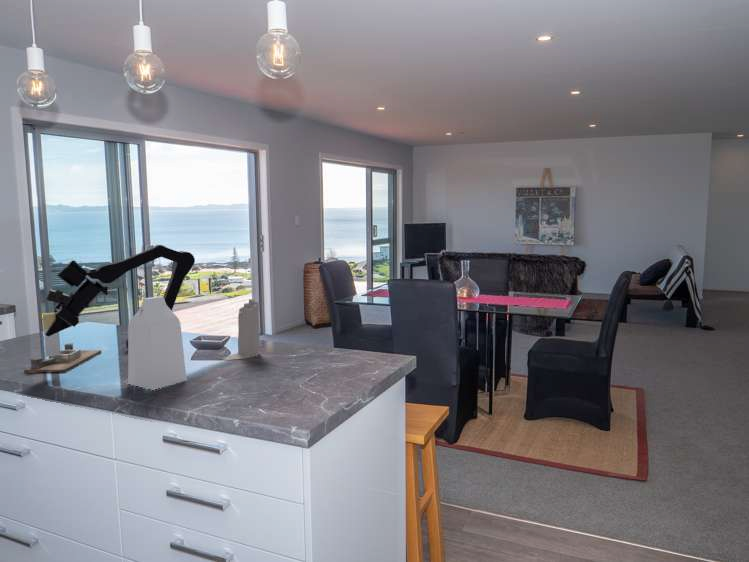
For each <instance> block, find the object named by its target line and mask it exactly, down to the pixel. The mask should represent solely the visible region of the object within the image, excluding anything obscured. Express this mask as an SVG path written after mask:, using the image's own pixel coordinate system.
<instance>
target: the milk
mask: <svg viewBox="0 0 749 562" xmlns="http://www.w3.org/2000/svg"><path fill="white" fill-rule="evenodd" d="M163 296H164V295H163ZM163 296H162V295H160V296H153V297H145V298H143V299H142V302H141V305H140V308H139V309H138V311H137V312H136V313H135V314H134V316H132V317H131V319H130V320H129V322H128V326H127V327H128V328H127V339H128V349H127V355H128V357H127V360H128V361H127V363H128V364H127V368H128V370H127V376H128V377H127V381H128V384H131V385H130V386H132V385H135V386H134V387H136V386H139V387H138V388H140V387H143V388H142V389H144V388H146V389H145V390H148V389H151V390H150V391H152V390H154V391H156V390H155V389H157V390H159V389H158V388H160V389H163V388H162V387H164V388H166V387H165V386H167V387H170V386H174V385H177V384H180V383H183V382H186V381H187V372H186V362H185V354H184V345H183V344H184V343H183V335H182V326H181V325H182V324H181V321H180V319H179V318H178V316H177V315H176V314H175V313H174V311H173V310H172V311H171V309H170V308H169V307H168V306H167V305H166V302H165V300H164V297H163ZM176 383H177V384H176ZM169 385H170V386H169Z"/></svg>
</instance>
